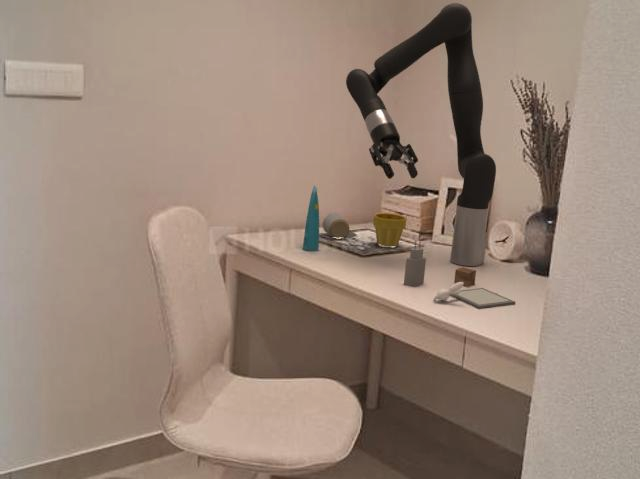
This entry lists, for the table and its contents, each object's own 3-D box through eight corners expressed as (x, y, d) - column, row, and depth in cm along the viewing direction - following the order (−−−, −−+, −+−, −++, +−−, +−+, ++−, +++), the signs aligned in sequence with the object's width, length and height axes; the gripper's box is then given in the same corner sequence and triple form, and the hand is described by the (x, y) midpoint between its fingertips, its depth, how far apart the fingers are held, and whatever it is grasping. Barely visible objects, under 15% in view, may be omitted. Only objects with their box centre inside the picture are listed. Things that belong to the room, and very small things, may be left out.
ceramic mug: (328, 240, 231) (330, 217, 229) (321, 234, 238) (323, 212, 236) (359, 241, 234) (361, 218, 232) (351, 235, 241) (353, 213, 240)
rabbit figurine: (429, 297, 178) (458, 284, 179) (436, 311, 177) (465, 297, 177) (431, 291, 172) (461, 277, 173) (439, 305, 171) (468, 291, 172)
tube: (320, 252, 215) (325, 189, 210) (305, 252, 213) (309, 188, 209) (315, 246, 222) (320, 185, 217) (300, 246, 221) (304, 184, 216)
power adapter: (424, 284, 189) (429, 240, 186) (411, 287, 186) (416, 242, 183) (415, 281, 191) (420, 237, 189) (402, 284, 188) (406, 239, 185)
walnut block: (461, 281, 195) (463, 267, 194) (474, 284, 192) (476, 270, 191) (454, 283, 192) (455, 269, 191) (467, 287, 189) (468, 273, 188)
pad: (482, 290, 187) (482, 287, 187) (515, 304, 177) (515, 301, 177) (446, 294, 182) (447, 291, 181) (478, 308, 171) (479, 306, 171)
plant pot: (405, 250, 224) (408, 220, 222) (372, 248, 224) (375, 218, 222) (401, 243, 234) (404, 214, 232) (370, 240, 234) (373, 211, 232)
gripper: (369, 120, 196) (391, 169, 190) (408, 122, 204) (430, 169, 198) (355, 137, 201) (376, 185, 195) (393, 138, 209) (415, 184, 203)
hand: (403, 176), depth 196 cm, fingers open, 8 cm apart
